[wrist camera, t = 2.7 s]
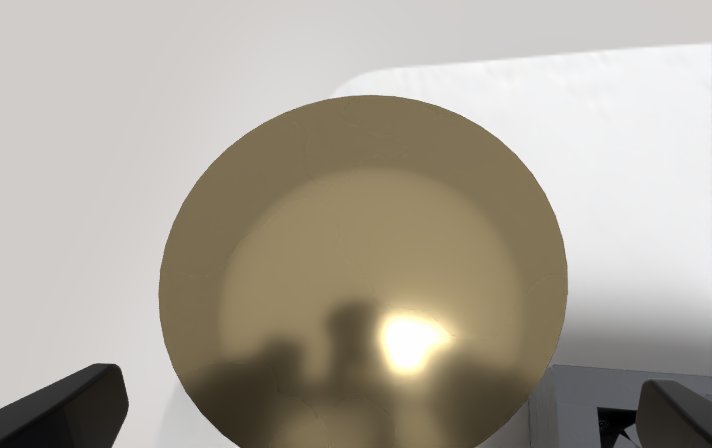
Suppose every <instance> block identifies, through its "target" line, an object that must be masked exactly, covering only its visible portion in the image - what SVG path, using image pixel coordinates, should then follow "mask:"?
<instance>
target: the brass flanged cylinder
mask: <svg viewBox="0 0 712 448" xmlns="http://www.w3.org/2000/svg"><path fill="white" fill-rule="evenodd" d="M567 294H568V279H567V261H566V255H565V248H564V242H563V238H562V235H561V232H560V228H559V225H558V222H557V219H556V216H555V214H554V212H553V209H552V207H551V205H550V203H549V201H548V199H547V197H546V195H545V193H544V191H543V190H542V188H541V187H540V185H539V184H538V182H537V180H536V179H535V177H534V176H533V174H532V173H531V172H530V171H529V169H528V168H527V167H526V166H525V165H524V163H523V162H522V161H521V160H520V159H519V158H518V156H517V155H516V154H515V153H513V152H512V151H511V150H510V149H509V148H508V147H507V146H506V145H505V144H504V143H503V142H501V141H500V140H499V139H498V138H496V137H495V136H494V135H492V134H491V133H489V132H488V131H487V130H485V129H484V128H482V127H481V126H479V125H478V124H476V123H474V122H472V121H470V120H468V119H467V118H465V117H463V116H461V115H459V114H457V113H454V112H452V111H449V110H447V109H444V108H442V107H439V106H436V105H432V104H429V103H425V102H422V101H418V100H413V99H407V98H401V97H395V96H379V95H363V96H347V97H340V98H333V99H327V100H323V101H319V102H315V103H312V104H308V105H305V106H302V107H299V108H296V109H293V110H291V111H288V112H285V113H283V114H281V115H279V116H277V117H275V118H273V119H271V120H269V121H267V122H265V123H263V124H262V125H260V126H258V127H257V128H255V129H254V130H252V131H250V132H249V133H247V134H246V135H244V136H243V137H242V138H240V139H239V140H238V141H236V142H235V143H234V144H233V145H231V146H230V147H229V148H228V149H227V150H225V152H223V153H222V154H221V155H220V156H219V157H218V158H217V159H216V160H215V161H214V162H213V163H212V164H211V165H210V167H209V168H208V169H207V170H206V171H205V173H204V174H203V175H202V176H201V177H200V179H199V180H198V181H197V182H196V184H195V185H194V187H193V188H192V190H191V192H190V193H189V195H188V196H187V198H186V199H185V201H184V202H183V204H182V206H181V209H180V211H179V213H178V215H177V217H176V219H175V221H174V223H173V226H172V229H171V231H170V234H169V237H168V240H167V243H166V246H165V250H164V255H163V260H162V265H161V269H160V282H159V309H160V321H161V326H162V331H163V337H164V342H165V345H166V348H167V351H168V354H169V356H170V360H171V362H172V365H173V368H174V370H175V372H176V374H177V376H178V378H179V380H180V381H181V383H182V385H183V387H184V389H185V391H186V393H187V394H188V395H189V397H190V398H191V399H192V401H193V402H194V404H195V405H196V406H197V408H198V409H199V410H200V412H201V413H202V414H203V415H204V416H205V417H206V418H207V419H208V420H209V421H210V422H211V423H212V424H213V425H214V426H215V427H216V428H217V429H218V430H219V431H220V432H221V434H223V435H224V436H225V437H227V438H228V439H229V440H231V441H232V442H233V443H235V444H236V445H237V446H239V447H240V448H474V447H476V446H477V445H479V444H481V443H482V442H484V441H485V440H486V439H487V438H489V437H490V436H491V435H492V434H493V433H495V432H496V431H497V430H498V429H499V428H500V427H502V426H503V425H504V424H505V423H506V422H508V420H509V419H510V418H511V417H512V416H513V415H514V414H515V413H516V411H517V410H518V409H519V408H520V407H521V406H522V405H523V404H524V402H525V401H526V400H527V399H528V398H529V396H530V395H531V393H532V391H533V390H534V388H535V387H536V385H537V384H538V382H539V381H540V379H541V378H542V376H543V375H544V373H545V371H546V368H547V366H548V364H549V362H550V360H551V358H552V355H553V353H554V351H555V349H556V346H557V343H558V339H559V336H560V332H561V329H562V325H563V322H564V317H565V309H566V302H567Z"/></svg>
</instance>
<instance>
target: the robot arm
mask: <svg viewBox="0 0 712 448" xmlns="http://www.w3.org/2000/svg"><path fill="white" fill-rule="evenodd" d="M128 407H129V402H128V397H127V392H126V388H125V383H124V380H123V375H122V371H121V369H120V367H119V366H118V365H116V364H101V363H97V364H93V365H90V366H88V367H86V368H84V369H82V370H80V371H78V372H76V373H74V374H72V375H70V376H67V377H65V378H63V379H61V380H59V381H57V382H55V383H53V384H51V385H49V386H47V387H44V388H43V389H40V390H38V391H36V392H34V393H32V394H30V395H28V396H26V397H24V398H21V399H19V400H17V401H15V402H13V403H11V404H9V405H7V406H5V407H3V408H1V409H0V448H112V446H113V444H114V441H115V440H116V437H117V435H118V433H119V431H120V429H121V426H122V424H123V422H124V420H125V418H126V415H127V412H128ZM636 431H637V435H638V438H639V441H640V443H641V446H642V448H712V401H710V400H708V399H707V398H705V397H703V396H702V395H700V394H698V393H696V392H695V391H693V390H691V389H689V388H688V387H686V386H684V385H682V384H681V383H679V382H677V381H675V380H673V379H655V378H649V379H646V380H645V381H644V382H643V384H642V387H641V392H640V398H639V403H638V409H637V415H636Z"/></svg>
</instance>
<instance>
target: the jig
mask: <svg viewBox="0 0 712 448" xmlns="http://www.w3.org/2000/svg"><path fill="white" fill-rule="evenodd" d="M649 378H655V379H673V380H675V381H677V382H679V383H681V384H682V385H684V386H686V387H688V388H689V389H691V390H693V391H695V392H696V393H698V394H700V395H702V396H703V397H705V398H707V399H708V400H710V401H712V377H708V376H695V375H682V374H669V373H656V372H643V371H630V370H617V369H604V368H592V367H579V366H566V365H553V366H551V367H550V368H549V369H547V370H546V371H545V373H544V375H543V376H542V378H541V379H540V381H539V382H538V384H537V385H536V387H535V388H534V390H533V391H532V393H531V395H530V396H529V416H530V437H531V448H642V446H641V443H640V441H639V438H638V435H637V431H636V415H637V409H638V403H639V398H640V392H641V387H642V384H643V382H644V381H645V380H646V379H649ZM598 422H607V423H608V424H606V425H604V426H602V427H600V428H599V424H598Z"/></svg>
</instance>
